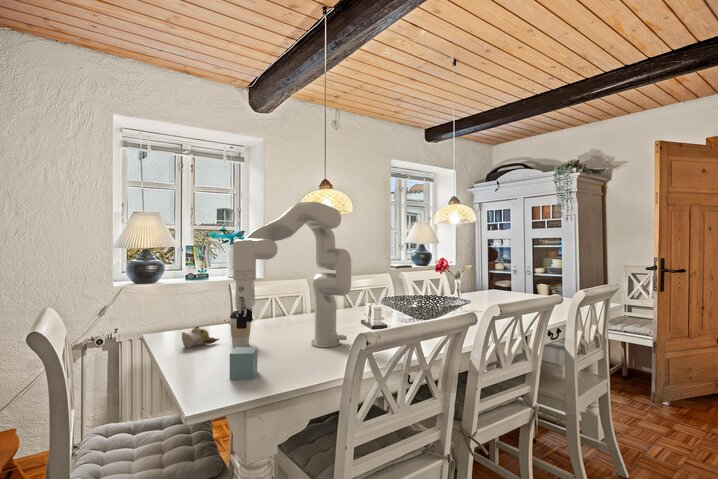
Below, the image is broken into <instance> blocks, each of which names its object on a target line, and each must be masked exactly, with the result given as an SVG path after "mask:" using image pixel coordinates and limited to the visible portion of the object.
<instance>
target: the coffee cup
mask: <svg viewBox="0 0 718 479" xmlns="http://www.w3.org/2000/svg"><path fill="white" fill-rule="evenodd" d="M229 319H230V321H231V323H230V322H229V323H230V324H229V325H230V335H231V336H230V337H231V345H232V347H233V348H235V347H249V345H250V336H251V335H250V334H251V325H252V324H251V323H252V322H247V328H246V329H237V310H234V311H232V313H230V314H229Z"/></svg>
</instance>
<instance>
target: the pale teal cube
mask: <svg viewBox="0 0 718 479" xmlns="http://www.w3.org/2000/svg"><path fill="white" fill-rule="evenodd" d="M257 373H258V346H246V347H233V348H232V350H231V352H230V353H229V381H238V380H239V381H240V380H241V381H243V380H244V381H245V379H253V378H255V377H256V374H257ZM253 380H254V379H253Z"/></svg>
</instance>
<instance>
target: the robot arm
mask: <svg viewBox="0 0 718 479" xmlns="http://www.w3.org/2000/svg"><path fill="white" fill-rule="evenodd" d="M341 222H342V215H341V212H340V211H339V210H338V209H337V208H335V207H332V206H330V205H327V204H325V203H321V202H318V201H302V202H301V201H300V202H297V203H295V204H294V205H292V206H291V207H290V208H288V209H287V210H286V211H285V212H284V213H283V214H282V215H281V216H279V218H277V219H275V220H273V221H270V222H268V223H266V224H264V225H263V226H261V227H259V228H256V229H255V230H253V231H252V232H251V233H249V234H248V235H247V236H246V237H245V238H244V239H235V240H233V244H232V252H233V253H232V265H233V266H232V278H233V281H235V300H234V301H235V303H234V304H235V309H236V311H237V329H246V328H247V322H251V323H252V322H253V308H254V306H255V305H256V291H255V290H256V289H255V280H257V260H260V261H262V260H263V261H265V260H266V261H267V260H268V261H269V260H271V259H274V258H275V257H276V255H277V254H278V251H279V250H278V245H277V243H276V242H278V241H283V240H286V239H289V238H292V236H294V234H296V233H297V232H298V231H299V230H300V229H301V228H302V227H303V226H304V225H306V226H307V227H308V228H309V229H310V230H311V231H312V233H313V234H314V237H315V261H316V267H317V268H319V269H320V270H324V271H327V270H329V271H335V273H334V272H319V273H317V274H315V276H314V277H313V279H312V289H313V294H314V339H312V340H310V341H311V342H310V343H311V345H312V346H313V347H314V348H315V347H317V348H333V347H337V346H339V345H340V343H341V342H340V341H347V335H345V334H338V332H337V301H336V298H335V297H334V296H338V297H345V296H348V295H349V293H350V291H351V289H352V257H351V254H350V253H349V251H348V250H347V249H344V248H337V247H336V236H335V233H334V231H333V229H337V228H338V227H340V225H341Z"/></svg>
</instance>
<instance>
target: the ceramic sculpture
mask: <svg viewBox="0 0 718 479" xmlns="http://www.w3.org/2000/svg"><path fill="white" fill-rule="evenodd" d="M219 340H220V338H215V337H211V336H210V335H209V331H208V330H207V329H206V328H201V327H200V326H196V327H193V328H192V329H191V331H190V332H182V333H181V341H182V344H183V347H185V348H186V349H192V348H193V346H196V347H199V346H203V345H211V344H214V343H216V342H218V341H219Z"/></svg>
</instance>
